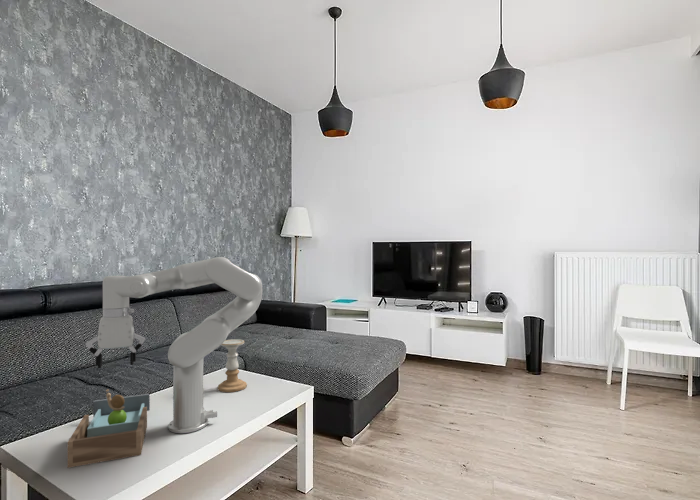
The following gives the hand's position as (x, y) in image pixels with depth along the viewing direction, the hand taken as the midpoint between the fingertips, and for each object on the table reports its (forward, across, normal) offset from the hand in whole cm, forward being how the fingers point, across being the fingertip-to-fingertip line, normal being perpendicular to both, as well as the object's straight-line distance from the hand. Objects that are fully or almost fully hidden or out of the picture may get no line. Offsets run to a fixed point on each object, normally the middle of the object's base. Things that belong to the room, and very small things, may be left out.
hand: (116, 365), depth 132 cm
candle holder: (+22, -40, -30) cm, 55 cm away
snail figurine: (+20, 0, 0) cm, 20 cm away
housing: (+22, 0, +10) cm, 24 cm away
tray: (+21, 0, -4) cm, 21 cm away
